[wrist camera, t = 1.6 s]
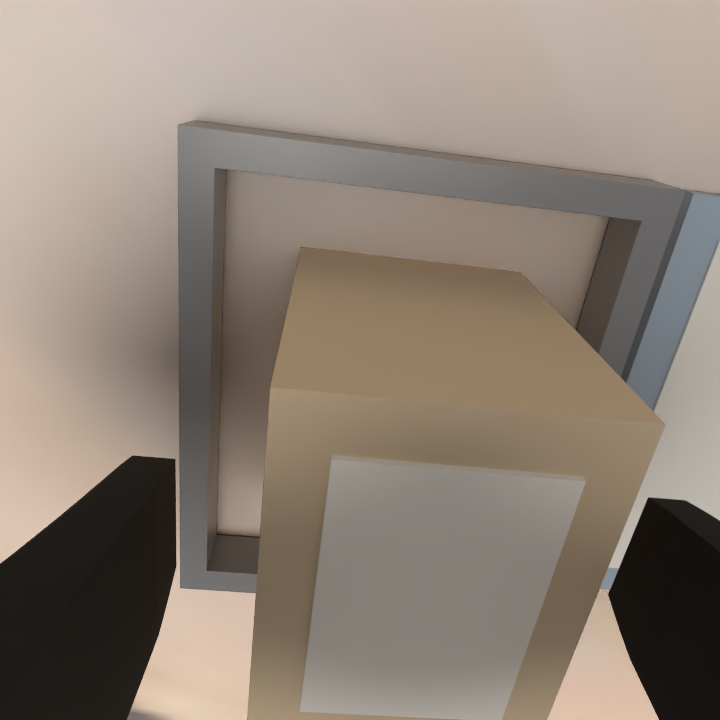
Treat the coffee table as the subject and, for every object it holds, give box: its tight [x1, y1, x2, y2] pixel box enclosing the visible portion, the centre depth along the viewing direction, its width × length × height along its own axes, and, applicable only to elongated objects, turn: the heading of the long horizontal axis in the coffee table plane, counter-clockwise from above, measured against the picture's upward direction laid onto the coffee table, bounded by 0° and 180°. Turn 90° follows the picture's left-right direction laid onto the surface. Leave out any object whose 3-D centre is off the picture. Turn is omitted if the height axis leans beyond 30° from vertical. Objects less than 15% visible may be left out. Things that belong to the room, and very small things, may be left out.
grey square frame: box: [178, 121, 685, 593], centre depth 13 cm, size 9×10×1 cm
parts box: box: [247, 247, 666, 720], centre depth 10 cm, size 4×6×6 cm
